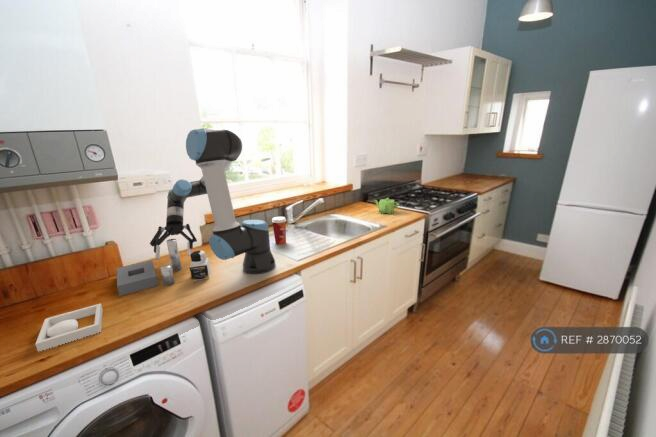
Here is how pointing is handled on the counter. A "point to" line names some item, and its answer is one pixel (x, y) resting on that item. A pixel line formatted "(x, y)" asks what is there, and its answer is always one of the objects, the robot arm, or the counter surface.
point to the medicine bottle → (199, 266)
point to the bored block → (136, 277)
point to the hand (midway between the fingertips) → (173, 257)
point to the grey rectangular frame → (47, 343)
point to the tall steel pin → (174, 255)
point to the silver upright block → (167, 275)
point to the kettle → (386, 206)
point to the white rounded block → (62, 328)
